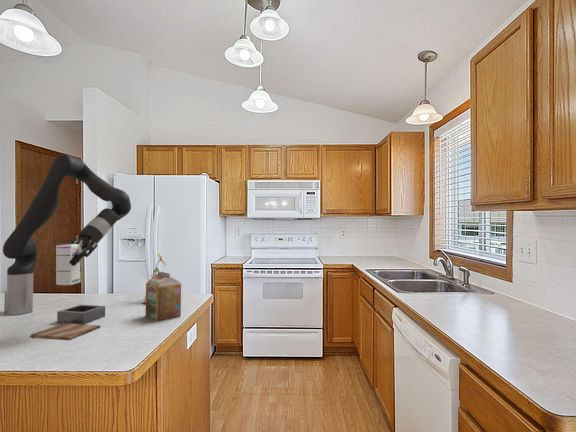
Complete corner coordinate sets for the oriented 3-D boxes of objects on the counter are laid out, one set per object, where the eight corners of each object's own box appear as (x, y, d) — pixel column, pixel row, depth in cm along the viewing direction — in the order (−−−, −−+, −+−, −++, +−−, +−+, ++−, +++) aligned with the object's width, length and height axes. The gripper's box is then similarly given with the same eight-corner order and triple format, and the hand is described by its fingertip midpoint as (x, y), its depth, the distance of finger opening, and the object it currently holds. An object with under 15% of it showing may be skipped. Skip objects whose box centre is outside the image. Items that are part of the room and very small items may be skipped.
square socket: (57, 322, 135) (57, 311, 136) (80, 315, 147) (80, 304, 147) (83, 324, 133) (83, 313, 133) (105, 316, 145) (105, 305, 145)
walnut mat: (30, 336, 119) (30, 334, 119) (63, 325, 133) (63, 323, 133) (70, 339, 116) (70, 337, 116) (100, 327, 130) (100, 325, 130)
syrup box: (71, 285, 122) (72, 244, 122) (55, 285, 122) (55, 244, 122) (81, 282, 128) (82, 243, 128) (65, 282, 128) (66, 243, 128)
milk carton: (180, 316, 146) (181, 272, 146) (157, 321, 138) (157, 274, 139) (168, 312, 153) (169, 269, 154) (145, 316, 146) (146, 272, 146)
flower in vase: (162, 305, 166) (163, 253, 167) (139, 305, 166) (139, 253, 167) (171, 299, 179) (172, 251, 180) (150, 299, 179) (151, 251, 180)
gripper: (77, 224, 135) (45, 256, 124) (101, 224, 129) (69, 258, 118) (89, 237, 140) (59, 268, 129) (113, 237, 134) (84, 271, 123)
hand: (64, 263), depth 124 cm, fingers closed on syrup box, 7 cm apart
